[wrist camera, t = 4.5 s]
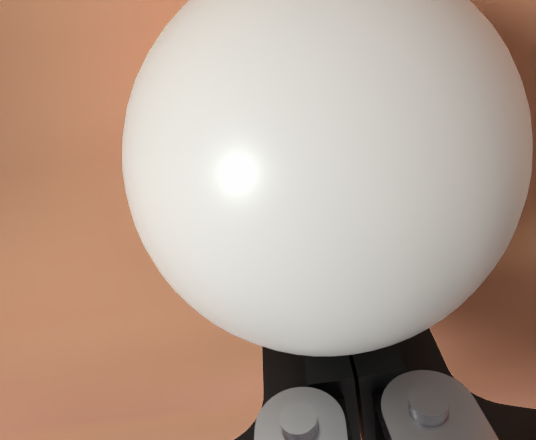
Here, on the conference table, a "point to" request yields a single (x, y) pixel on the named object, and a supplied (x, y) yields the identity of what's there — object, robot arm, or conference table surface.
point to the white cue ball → (327, 165)
